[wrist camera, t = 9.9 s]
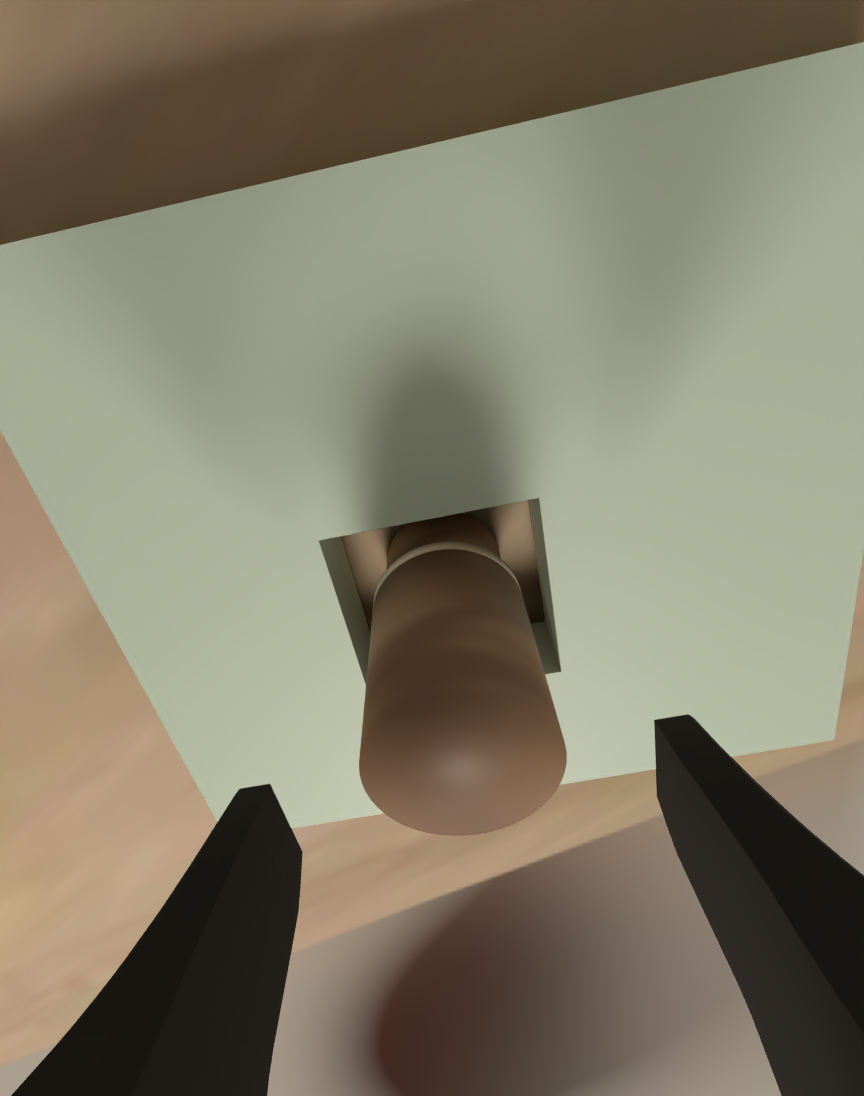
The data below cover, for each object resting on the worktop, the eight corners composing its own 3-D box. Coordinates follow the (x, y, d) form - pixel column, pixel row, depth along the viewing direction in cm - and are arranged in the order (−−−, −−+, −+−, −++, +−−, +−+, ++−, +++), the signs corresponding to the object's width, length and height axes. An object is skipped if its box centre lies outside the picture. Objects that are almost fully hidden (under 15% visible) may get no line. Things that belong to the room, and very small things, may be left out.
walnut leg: (500, 490, 18) (558, 671, 11) (515, 604, 20) (573, 820, 13) (364, 513, 18) (335, 706, 11) (392, 624, 20) (383, 847, 13)
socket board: (857, 52, 13) (945, 23, 11) (791, 686, 22) (834, 740, 20) (-17, 257, 15) (-91, 266, 12) (243, 779, 23) (226, 838, 21)
